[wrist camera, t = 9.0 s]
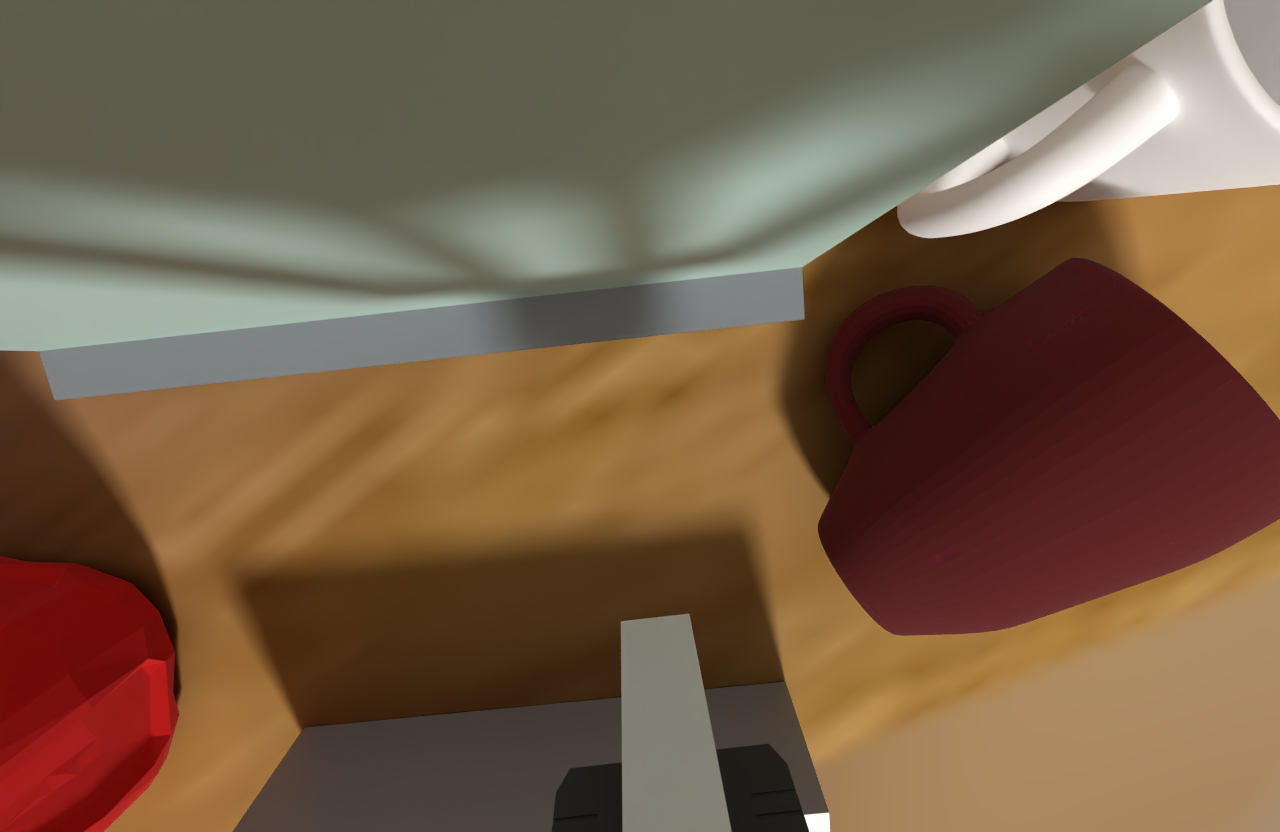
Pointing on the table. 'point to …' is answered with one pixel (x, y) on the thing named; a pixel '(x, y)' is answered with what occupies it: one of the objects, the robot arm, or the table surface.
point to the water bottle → (79, 696)
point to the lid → (482, 144)
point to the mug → (1042, 456)
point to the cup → (1132, 129)
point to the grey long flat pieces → (479, 740)
